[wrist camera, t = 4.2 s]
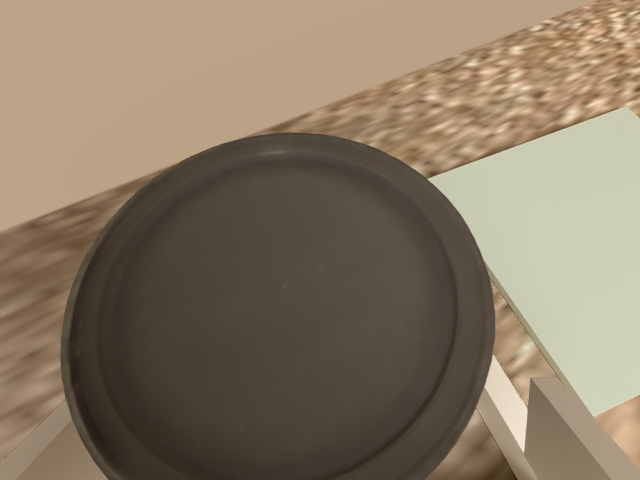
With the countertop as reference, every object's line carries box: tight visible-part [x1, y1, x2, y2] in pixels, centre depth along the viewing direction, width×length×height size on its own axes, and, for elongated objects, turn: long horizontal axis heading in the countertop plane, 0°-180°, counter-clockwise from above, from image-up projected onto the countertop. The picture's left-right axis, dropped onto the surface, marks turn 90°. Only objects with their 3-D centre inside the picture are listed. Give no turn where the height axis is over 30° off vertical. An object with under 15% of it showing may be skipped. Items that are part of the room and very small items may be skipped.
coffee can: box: [61, 133, 495, 480], centre depth 17 cm, size 10×10×14 cm
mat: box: [427, 106, 640, 417], centre depth 26 cm, size 16×16×1 cm
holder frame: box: [477, 355, 538, 480], centre depth 21 cm, size 17×17×2 cm
